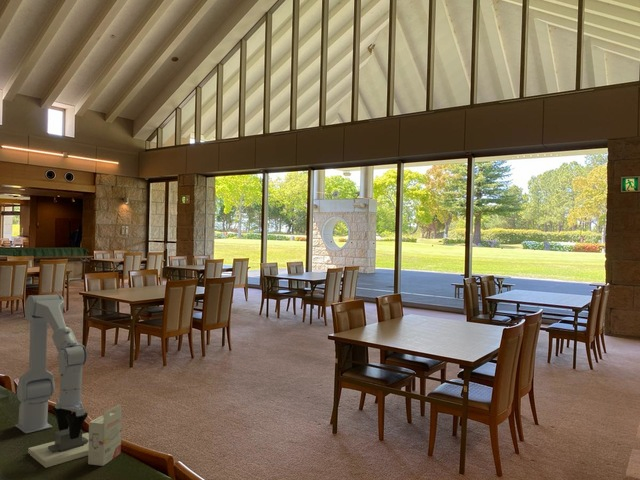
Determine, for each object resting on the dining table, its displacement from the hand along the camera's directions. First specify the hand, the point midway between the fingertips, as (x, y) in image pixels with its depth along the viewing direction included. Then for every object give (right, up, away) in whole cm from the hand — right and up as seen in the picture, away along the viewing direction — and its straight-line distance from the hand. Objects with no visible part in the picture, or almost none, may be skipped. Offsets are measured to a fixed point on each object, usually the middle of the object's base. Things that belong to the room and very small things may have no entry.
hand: (68, 434), depth 145 cm
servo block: (0, -5, 0) cm, 5 cm away
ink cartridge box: (+12, -6, -4) cm, 14 cm away
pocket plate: (0, -5, 0) cm, 5 cm away
